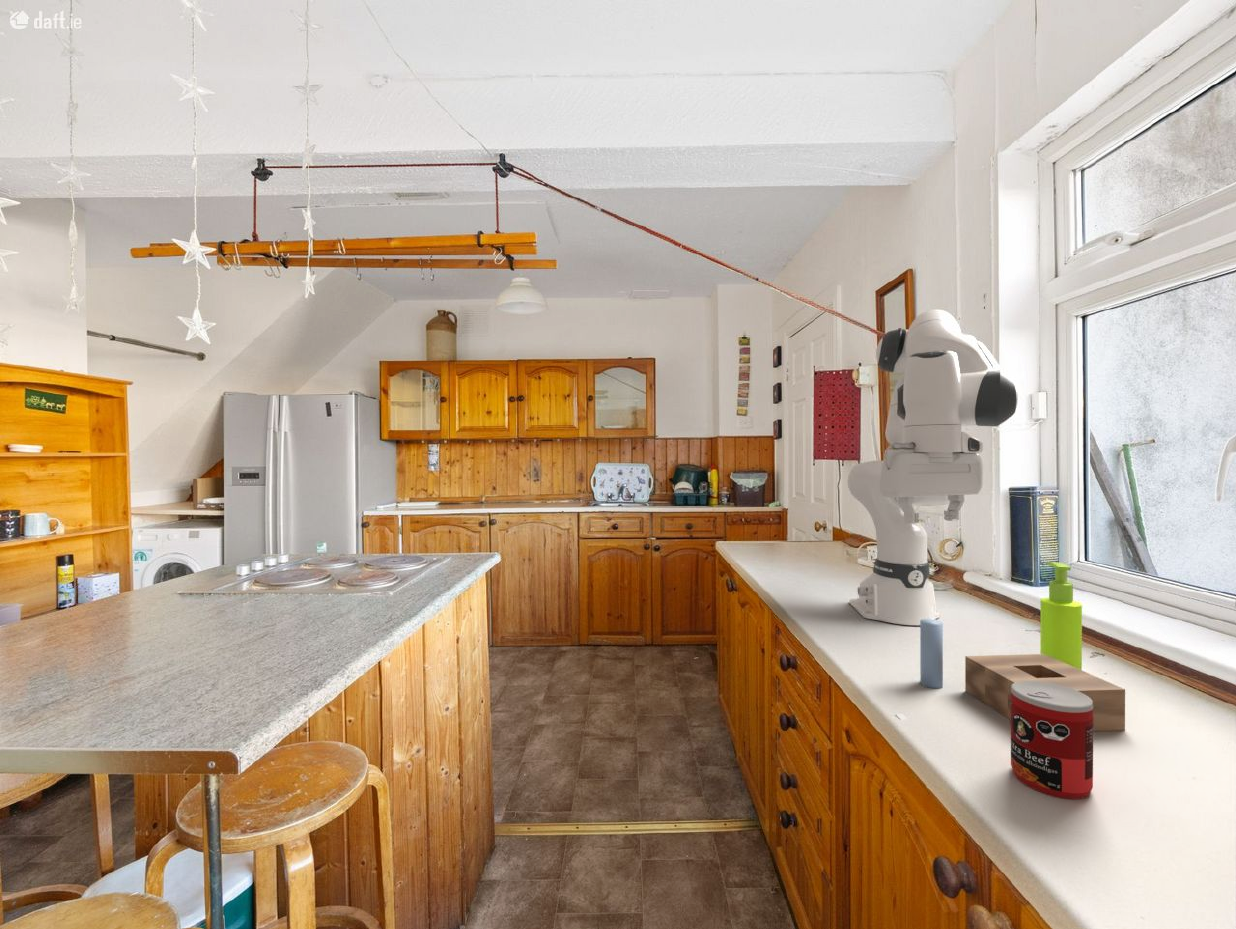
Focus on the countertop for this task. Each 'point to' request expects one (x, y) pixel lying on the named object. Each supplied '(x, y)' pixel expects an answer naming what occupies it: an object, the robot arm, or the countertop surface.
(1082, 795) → the canned food
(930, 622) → the dowel
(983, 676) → the socket block
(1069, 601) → the soap dispenser
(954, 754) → the countertop surface
